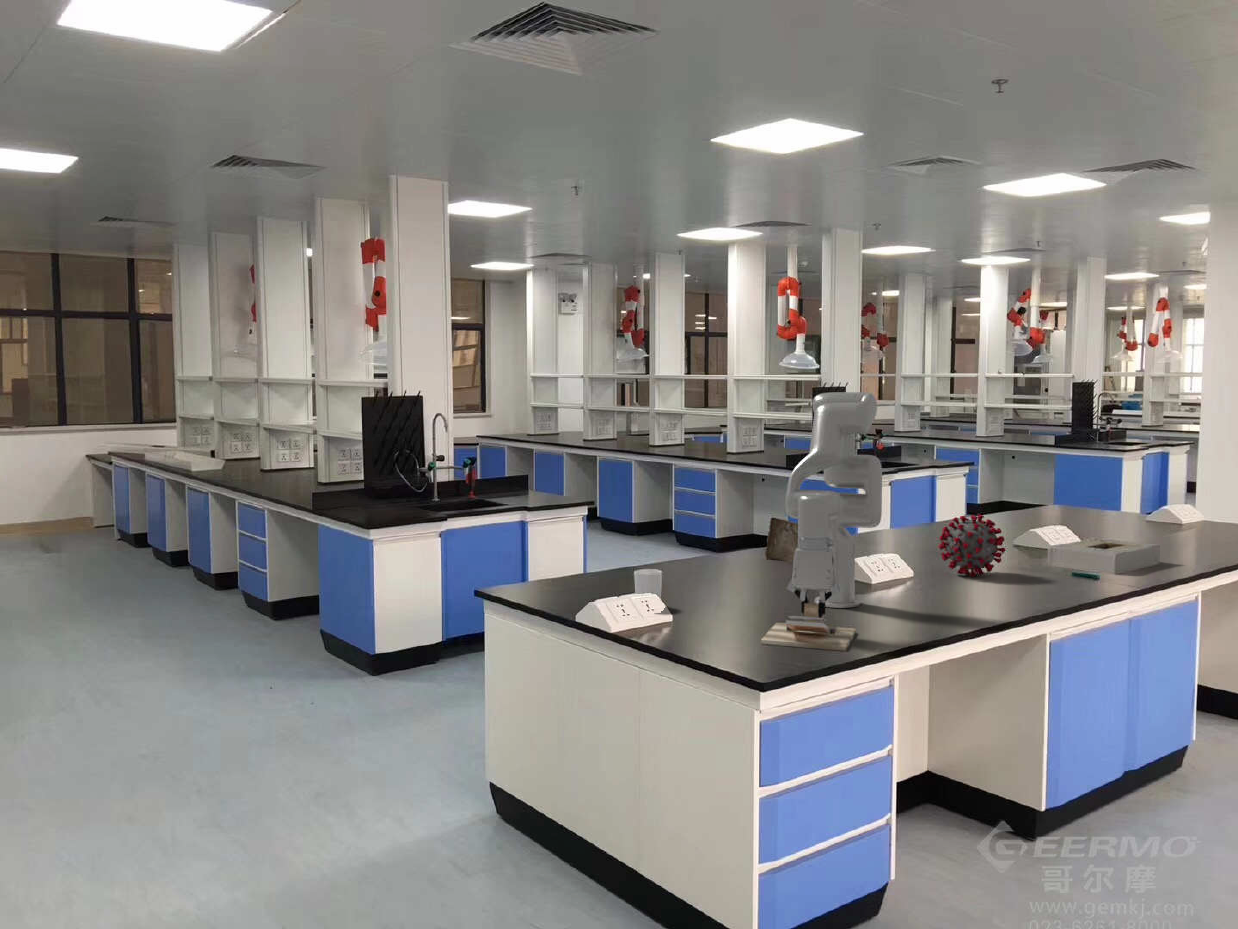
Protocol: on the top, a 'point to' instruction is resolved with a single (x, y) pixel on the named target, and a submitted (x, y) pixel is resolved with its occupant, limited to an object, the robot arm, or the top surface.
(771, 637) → the board
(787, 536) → the mineral sample
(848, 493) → the robot arm
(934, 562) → the top surface
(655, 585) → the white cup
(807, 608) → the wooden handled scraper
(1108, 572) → the box
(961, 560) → the virus model
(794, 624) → the tile
